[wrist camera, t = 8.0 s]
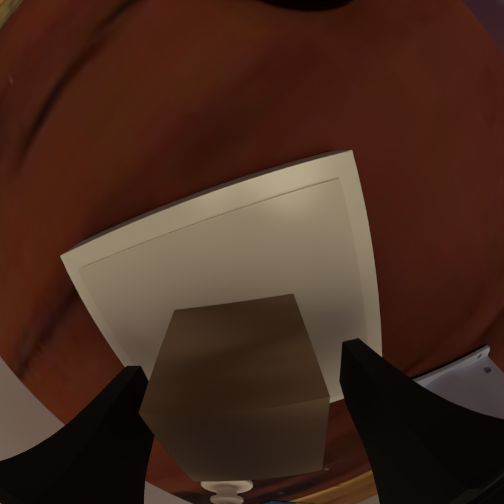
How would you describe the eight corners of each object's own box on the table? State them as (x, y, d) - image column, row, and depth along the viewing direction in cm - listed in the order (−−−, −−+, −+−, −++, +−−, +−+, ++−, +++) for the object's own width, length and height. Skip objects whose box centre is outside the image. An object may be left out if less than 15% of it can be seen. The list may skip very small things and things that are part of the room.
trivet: (333, 150, 10) (354, 150, 8) (369, 361, 14) (383, 386, 12) (82, 241, 11) (57, 257, 9) (184, 409, 15) (180, 436, 13)
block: (293, 293, 10) (330, 396, 5) (299, 376, 12) (321, 469, 7) (174, 309, 10) (138, 413, 5) (202, 388, 12) (192, 481, 7)
